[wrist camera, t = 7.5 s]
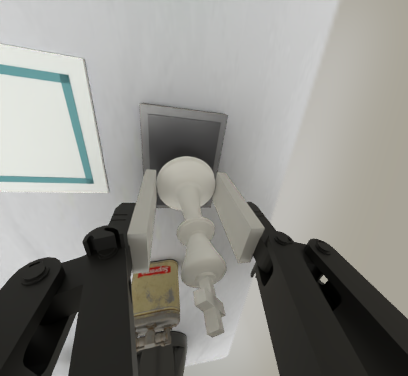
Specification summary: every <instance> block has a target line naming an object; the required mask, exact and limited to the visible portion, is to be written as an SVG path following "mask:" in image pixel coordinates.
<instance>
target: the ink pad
mask: <svg viewBox="0 0 408 376" xmlns="http://www.w3.org/2000/svg"><path fill="white" fill-rule="evenodd" d="M139 108H140V125H141V141H142V158H143V175H144V174H145V171H146V169H150V170H156V181H157V176H158V173H159V171H160V170H161V168H162V167H163V166H164V165H165V164H166V163H168V162H169V161H171V160H173V159H175V158H178V157H184V156H190V157H195V158H198V159H201V160H203V161H204V162H205V163H207V164H208V165H209V166H210V168H211V169H212V171H213V174H214V178H215V181H216V176H217V171H218V166H219V161H220V155H221V150H222V145H223V139H224V134H225V129H226V124H227V118H228V115H225V114H220V113H212V112H205V111H197V110H190V109H182V108H175V107H167V106H160V105H152V104H145V103H140V104H139ZM212 197H213V195H212ZM212 197H211V198H210V200H209V201H208V202H207V203H206V204H204V205H203V206H201V208H204V207H211V203H212ZM156 208H170V207H169V206H167V205H166V204H165V203H164V202H163V201H162V200H161V199H160V197H159V195H158V192H157V201H156Z"/></svg>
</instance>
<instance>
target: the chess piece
mask: <svg viewBox="0 0 408 376" xmlns="http://www.w3.org/2000/svg"><path fill="white" fill-rule="evenodd" d="M156 185H157V192H158V195H159V197H160V199H161V200H162V201H163V202H164V203H165V204H166V205H167V206H169V207H170V208H173V209H175V210H180V211H182V212H183V216H184V219H185V221H184V222H182V223H181V224H180V226H179V227H178V229H177V237H178V239H179V241H180V243H181V244H183V245H184V246H187V248H186V255H185V258H184V261H183V264H182V269H181V279H182V281H183V282H184V283H185V284H186V285H188V286H190V287H193V288H200V289H198V290H196V291H194V292H193V293H194V301H195V306H196V307H198V308H199V309H201V310H202V311H203V312H204V318H205V324H206V330H207V335H209V336H211V337H215V336H217V335H219V334H222V333H224V328H223V324H222V320H221V317H223V316H225V311H224V307H223V303H222V302H221V301H220V300H219V299H218V298H216V294H215V290H214V286H213V284H215V283H217V282H218V281H220V280H221V279H222V278H223V276H224V275H225V273H226V263H225V261H224V260H223V258H222V257H221V255H220V254H219V253H218V252H217V251H216V250H215V248H214V247H213V245H212V244H211V242H210V240H211V239H212V238H213V236H214V230H215V227H214V224H213V223H212V221H210V220H209V219H207V218H204V217H202V215H201V206H203V205H204V204H206V203H207V202H208V201H209V200H210V198H211V197H212V195H213V193H214V190H215V178H214V174H213V171H212V169H211V168H210V166H209V165H208V164H207V163H205V162H204V161H203V160H201V159H198V158H195V157H190V156H184V157H178V158H175V159H173V160H171V161H169V162H168V163H166V164H165V165H164V166H163V167H162V168H161V170H160V171H159V173H158V176H157V181H156Z"/></svg>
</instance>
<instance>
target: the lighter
mask: <svg viewBox="0 0 408 376" xmlns="http://www.w3.org/2000/svg"><path fill="white" fill-rule="evenodd" d="M131 288H132V300H133V313H134V326H135V339H136V351H140V350H143V349H147V348H152V347H155V346H159V345H161V346H164V345H169V344H171V336H170V334H171V333H170V330H172V328H173V327H176V326H177V325H178V324H179V322H180V301H179V283H178V263H177V262H176V261H173V260H164V261H158V262H151V263H150V266H149V272H145V273H135V274H133V279H132V284H131ZM162 330H164V331H165V332H163V333H157V334H156V332H158V331H162ZM140 335H145V336H144V337H140V338H137V337H138V336H140ZM158 342H159V343H158ZM138 346H139V347H138ZM141 346H142V347H141Z"/></svg>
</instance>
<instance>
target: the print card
mask: <svg viewBox="0 0 408 376" xmlns="http://www.w3.org/2000/svg"><path fill="white" fill-rule="evenodd" d="M0 192H61V193H109V188H108V183H107V178H106V172H105V167H104V162H103V156H102V151H101V146H100V140H99V135H98V130H97V124H96V119H95V114H94V108H93V103H92V98H91V92H90V87H89V82H88V76H87V71H86V66H85V60H84V59H82V58H76V57H71V56H65V55H59V54H54V53H48V52H43V51H37V50H32V49H26V48H20V47H15V46H9V45H4V44H0Z"/></svg>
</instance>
